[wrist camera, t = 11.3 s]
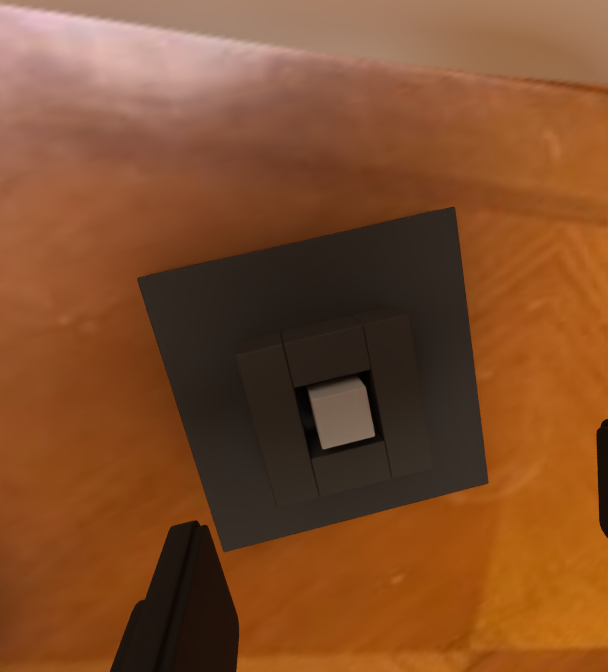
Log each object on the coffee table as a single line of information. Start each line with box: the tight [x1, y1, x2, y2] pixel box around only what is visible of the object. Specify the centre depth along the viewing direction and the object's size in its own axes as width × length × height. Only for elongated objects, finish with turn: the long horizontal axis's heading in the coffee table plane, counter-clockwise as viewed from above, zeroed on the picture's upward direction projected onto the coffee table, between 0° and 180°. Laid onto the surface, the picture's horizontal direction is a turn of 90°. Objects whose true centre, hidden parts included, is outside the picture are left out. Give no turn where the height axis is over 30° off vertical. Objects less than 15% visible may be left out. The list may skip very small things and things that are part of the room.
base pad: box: [137, 207, 488, 552], centre depth 18 cm, size 14×14×4 cm
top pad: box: [236, 306, 433, 508], centre depth 17 cm, size 7×7×2 cm
